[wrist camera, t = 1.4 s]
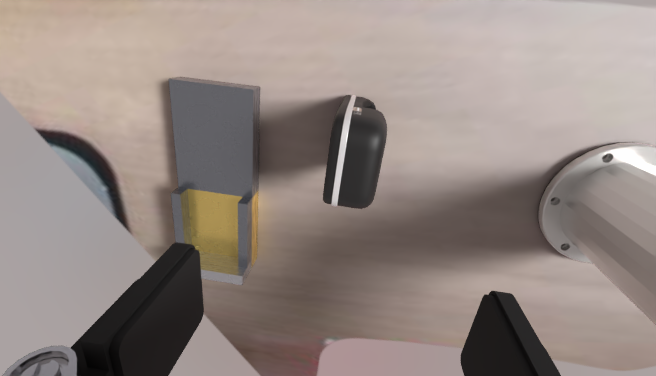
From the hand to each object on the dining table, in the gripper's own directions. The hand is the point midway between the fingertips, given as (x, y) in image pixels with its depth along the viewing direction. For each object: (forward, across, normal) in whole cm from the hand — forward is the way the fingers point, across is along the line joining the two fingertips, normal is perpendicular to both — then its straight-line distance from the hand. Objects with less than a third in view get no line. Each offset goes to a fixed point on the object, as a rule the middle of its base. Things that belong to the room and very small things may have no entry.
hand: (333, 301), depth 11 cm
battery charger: (+24, 0, 0) cm, 24 cm away
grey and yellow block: (+24, +14, +7) cm, 28 cm away
